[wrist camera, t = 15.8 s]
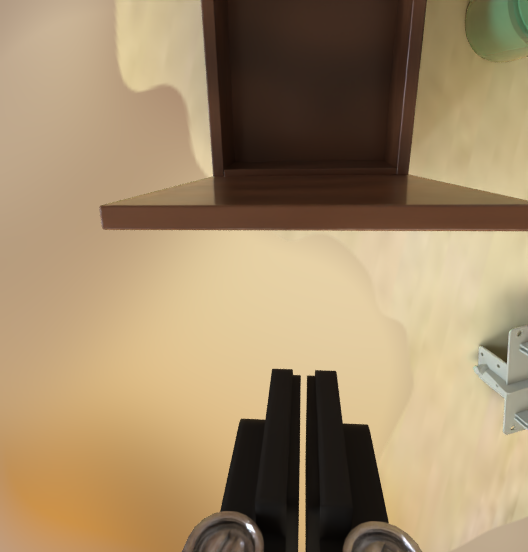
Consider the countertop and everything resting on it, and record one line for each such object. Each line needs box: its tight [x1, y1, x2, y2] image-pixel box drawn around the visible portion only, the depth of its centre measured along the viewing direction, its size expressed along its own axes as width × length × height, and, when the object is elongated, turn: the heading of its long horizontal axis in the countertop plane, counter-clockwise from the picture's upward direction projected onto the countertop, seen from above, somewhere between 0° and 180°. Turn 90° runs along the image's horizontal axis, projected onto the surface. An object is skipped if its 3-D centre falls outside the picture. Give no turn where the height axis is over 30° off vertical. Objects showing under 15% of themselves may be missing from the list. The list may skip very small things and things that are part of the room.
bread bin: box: [201, 0, 427, 177], centre depth 28 cm, size 16×14×6 cm
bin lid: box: [100, 175, 528, 231], centre depth 20 cm, size 16×14×1 cm
